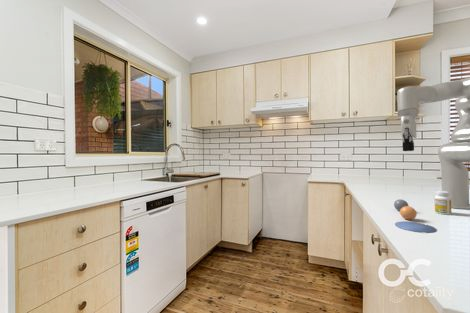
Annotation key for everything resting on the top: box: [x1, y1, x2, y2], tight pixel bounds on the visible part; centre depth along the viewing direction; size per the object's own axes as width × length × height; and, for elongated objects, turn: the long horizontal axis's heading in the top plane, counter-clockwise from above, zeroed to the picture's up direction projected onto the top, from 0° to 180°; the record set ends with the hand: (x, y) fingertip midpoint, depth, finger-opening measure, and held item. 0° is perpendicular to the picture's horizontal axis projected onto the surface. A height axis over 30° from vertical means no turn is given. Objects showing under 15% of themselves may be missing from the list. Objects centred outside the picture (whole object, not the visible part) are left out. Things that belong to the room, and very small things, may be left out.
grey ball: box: [393, 199, 409, 212], centre depth 103 cm, size 6×6×6 cm
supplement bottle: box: [434, 190, 452, 215], centre depth 97 cm, size 5×5×10 cm
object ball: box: [399, 205, 418, 221], centre depth 90 cm, size 6×6×6 cm
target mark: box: [394, 220, 437, 234], centre depth 82 cm, size 12×12×1 cm
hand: (408, 150), depth 100 cm, fingers open, 9 cm apart
